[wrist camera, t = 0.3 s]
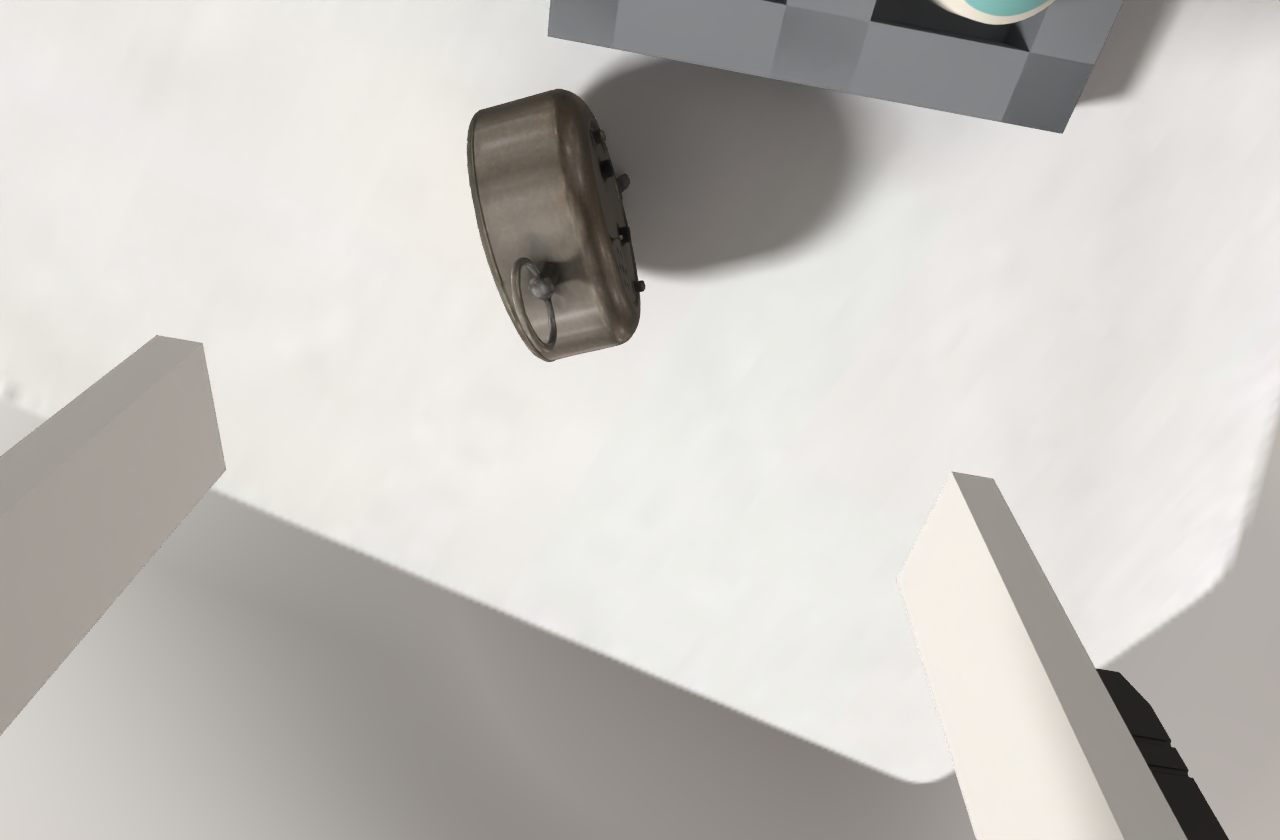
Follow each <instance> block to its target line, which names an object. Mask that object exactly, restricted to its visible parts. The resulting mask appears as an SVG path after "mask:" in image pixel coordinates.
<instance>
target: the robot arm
mask: <svg viewBox="0 0 1280 840" xmlns="http://www.w3.org/2000/svg"><path fill="white" fill-rule="evenodd" d="M225 470H226V467H225V461H224V456H223V450H222V445H221V440H220V434H219V429H218V424H217V418H216V413H215V408H214V402H213V397H212V391H211V386H210V381H209V375H208V370H207V365H206V359H205V354H204V349H203V343H199V342H193V341H187V340H181V339H175V338H170V337H164V336H158V335H156V336H155V337H154V338H153V339H151V340H150V341H149V342H147V343H146V344H145V345H143V346H142V347H141V348H140V349H138V350H137V351H136V352H134V353H133V354H132V355H131V356H129V357H128V358H127V359H125V360H124V361H123V362H122V363H120V364H119V365H118V366H116V367H115V368H114V369H113V370H111V371H110V372H109V373H107V374H106V375H105V376H104V377H102V378H101V379H100V380H98V381H97V382H96V383H94V384H93V385H92V386H91V387H89V388H88V389H87V390H85V391H84V392H83V393H82V394H80V395H79V396H78V397H76V398H75V399H74V400H73V401H71V402H70V403H69V404H67V405H66V406H65V407H64V408H62V409H61V410H60V411H58V412H57V413H56V414H55V415H53V416H52V417H51V418H49V419H48V420H47V421H46V422H44V423H43V424H42V425H40V426H39V427H38V428H36V429H35V430H34V431H33V432H31V433H30V434H29V435H27V436H26V437H25V438H24V439H22V440H21V441H20V442H18V443H17V444H16V445H15V446H13V447H12V448H11V449H9V450H8V451H7V452H6V453H4V454H3V455H2V456H0V736H1V734H2V733H3V732H4V731H5V730H6V728H7V727H8V726H9V725H10V724H11V723H12V721H13V720H14V719H15V718H16V717H17V715H18V714H19V713H20V712H21V711H22V710H23V708H24V707H25V706H26V705H27V704H28V702H29V701H30V700H31V699H32V698H33V697H34V695H35V694H36V693H37V692H38V691H39V690H40V688H41V687H42V686H43V685H44V684H45V682H46V681H47V680H48V679H49V678H50V677H51V675H52V674H53V673H54V672H55V671H56V670H57V668H58V667H59V666H60V665H61V664H62V662H63V661H64V660H65V659H66V658H67V657H68V655H69V654H70V653H71V652H72V651H73V649H74V648H75V647H76V646H77V645H78V644H79V642H80V641H81V640H82V639H83V638H84V637H85V635H86V634H87V633H88V632H89V631H90V629H91V628H92V627H93V626H94V625H95V624H96V622H97V621H98V620H99V619H100V618H101V616H102V615H103V614H104V613H105V612H106V610H107V609H108V608H109V607H110V606H111V605H112V604H113V602H114V601H115V600H116V599H117V598H118V596H119V595H120V594H121V593H122V592H123V591H124V589H125V588H126V587H127V586H128V585H129V583H130V582H131V581H132V580H133V579H134V577H135V576H136V575H137V574H138V573H139V572H140V571H141V569H142V568H143V567H144V566H145V565H146V563H147V562H148V561H149V560H150V559H151V558H152V556H153V555H154V554H155V553H156V552H157V550H158V549H159V548H160V547H161V546H162V544H163V543H164V542H165V541H166V540H167V539H168V538H169V536H170V535H171V534H172V533H173V532H174V530H175V529H176V528H177V527H178V526H179V525H180V523H181V522H182V521H183V520H184V519H185V517H186V516H187V515H188V514H189V513H190V512H191V510H192V509H193V508H194V507H195V506H196V504H197V503H198V502H199V501H200V500H201V499H202V497H203V496H204V495H205V494H206V493H207V492H208V490H209V489H210V488H211V487H212V486H213V484H214V483H215V482H216V481H217V480H218V479H219V477H220V476H221V475H222V474H223V473H224V471H225ZM896 581H897V584H898V587H899V590H900V594H901V597H902V600H903V603H904V607H905V610H906V613H907V616H908V620H909V623H910V626H911V629H912V633H913V636H914V639H915V642H916V645H917V649H918V652H919V655H920V658H921V662H922V665H923V668H924V671H925V675H926V678H927V681H928V684H929V688H930V691H931V694H932V697H933V701H934V704H935V707H936V710H937V714H938V717H939V720H940V723H941V727H942V730H943V733H944V736H945V739H946V743H947V746H948V749H949V752H950V756H951V759H952V762H953V765H954V769H955V772H956V775H957V778H958V782H959V785H960V788H961V791H962V795H963V798H964V801H965V804H966V808H967V811H968V814H969V817H970V820H971V823H972V827H973V830H974V833H975V837H976V840H1229V839H1228V837H1227V836H1226V834H1225V832H1224V830H1223V829H1222V827H1221V825H1220V824H1219V822H1218V820H1217V818H1216V817H1215V815H1214V813H1213V812H1212V810H1211V808H1210V806H1209V805H1208V803H1207V801H1206V800H1205V798H1204V796H1203V794H1202V793H1201V791H1200V789H1199V788H1198V786H1197V784H1196V782H1195V781H1194V779H1193V778H1190V777H1189V776H1188V769H1187V767H1186V765H1185V763H1184V762H1183V760H1182V758H1181V757H1180V755H1179V753H1178V752H1177V750H1176V748H1172V747H1171V745H1170V743H1171V740H1170V738H1169V736H1168V735H1167V733H1166V731H1165V729H1164V727H1163V726H1162V724H1161V722H1160V721H1159V719H1158V717H1157V715H1156V714H1155V712H1154V710H1153V709H1152V707H1151V705H1150V704H1149V703H1148V702H1147V701H1146V700H1145V699H1144V698H1143V697H1142V696H1141V695H1140V694H1139V693H1138V692H1137V691H1136V690H1135V688H1134V687H1133V686H1132V685H1130V683H1129V682H1128V681H1127V680H1126V679H1125V678H1124V677H1123V676H1122V675H1121V674H1120V673H1119V672H1114V671H1108V670H1102V669H1096V668H1095V667H1094V665H1093V663H1092V661H1091V659H1090V658H1089V656H1088V654H1087V652H1086V650H1085V648H1084V646H1083V645H1082V643H1081V641H1080V639H1079V637H1078V635H1077V633H1076V632H1075V630H1074V628H1073V626H1072V624H1071V622H1070V620H1069V619H1068V617H1067V615H1066V613H1065V611H1064V609H1063V607H1062V605H1061V604H1060V602H1059V600H1058V598H1057V596H1056V594H1055V592H1054V591H1053V589H1052V587H1051V585H1050V583H1049V581H1048V579H1047V578H1046V576H1045V574H1044V572H1043V570H1042V568H1041V566H1040V565H1039V563H1038V561H1037V559H1036V557H1035V555H1034V553H1033V552H1032V550H1031V548H1030V546H1029V544H1028V542H1027V540H1026V539H1025V537H1024V535H1023V533H1022V531H1021V529H1020V527H1019V526H1018V524H1017V522H1016V520H1015V518H1014V516H1013V514H1012V513H1011V511H1010V509H1009V507H1008V505H1007V503H1006V501H1005V500H1004V498H1003V496H1002V494H1001V492H1000V490H999V488H998V487H997V485H996V483H995V481H994V479H992V478H986V477H980V476H974V475H969V474H963V473H957V472H951V474H950V476H949V478H948V480H947V482H946V484H945V485H944V487H943V489H942V491H941V493H940V495H939V497H938V499H937V501H936V503H935V505H934V507H933V509H932V511H931V513H930V515H929V517H928V519H927V521H926V523H925V525H924V527H923V528H922V530H921V532H920V534H919V536H918V538H917V540H916V542H915V544H914V546H913V548H912V550H911V552H910V554H909V556H908V558H907V560H906V562H905V564H904V566H903V568H902V569H901V571H900V573H899V575H898V577H897V579H896Z"/></svg>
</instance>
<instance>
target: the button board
mask: <svg viewBox="0 0 1280 840" xmlns="http://www.w3.org/2000/svg"><path fill="white" fill-rule="evenodd" d="M1123 2H1124V0H1055V1H1054V2H1053V3H1052V4H1050V5H1049V6H1048V7H1046V8H1045V9H1043V10H1042V11H1040V12H1038V13H1037V14H1035V15H1033V16H1031V17H1029V18H1027V19H1024V20H1021V21H1018V22H1015V23H1009V24H1000V25H993V24H985V23H982V22H978V21H975V20H972V19H969V18H966V17H963V16H960V15H957V14H954V13H951V12H948V11H945V10H943V9H941V8H939V7H937V6H936V5H934V4H933V3H931V2H930V1H929V0H551V1H550V13H549V25H548V36H549V37H554V38H559V39H565V40H570V41H575V42H581V43H586V44H591V45H596V46H602V47H607V48H612V49H618V50H623V51H628V52H633V53H639V54H644V55H649V56H655V57H660V58H665V59H670V60H676V61H681V62H686V63H692V64H697V65H702V66H707V67H713V68H718V69H723V70H729V71H734V72H739V73H744V74H750V75H755V76H760V77H766V78H771V79H776V80H781V81H787V82H792V83H797V84H803V85H808V86H813V87H818V88H824V89H829V90H834V91H840V92H845V93H850V94H855V95H861V96H866V97H871V98H877V99H882V100H887V101H892V102H898V103H903V104H908V105H914V106H919V107H924V108H929V109H935V110H940V111H945V112H951V113H956V114H961V115H966V116H972V117H977V118H982V119H988V120H993V121H998V122H1003V123H1009V124H1014V125H1019V126H1025V127H1030V128H1035V129H1040V130H1046V131H1051V132H1056V133H1062V134H1063V132H1064V130H1065V127H1066V125H1067V123H1068V121H1069V119H1070V117H1071V114H1072V112H1073V110H1074V108H1075V106H1076V104H1077V101H1078V99H1079V97H1080V95H1081V93H1082V91H1083V88H1084V86H1085V84H1086V82H1087V80H1088V78H1089V75H1090V73H1091V71H1092V69H1093V67H1094V65H1095V62H1096V60H1097V58H1098V56H1099V54H1100V51H1101V49H1102V47H1103V45H1104V43H1105V41H1106V38H1107V36H1108V34H1109V32H1110V30H1111V28H1112V25H1113V23H1114V21H1115V19H1116V17H1117V15H1118V12H1119V10H1120V8H1121V6H1122V4H1123Z"/></svg>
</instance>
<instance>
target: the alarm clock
mask: <svg viewBox="0 0 1280 840" xmlns="http://www.w3.org/2000/svg"><path fill="white" fill-rule="evenodd" d="M605 140H606V136H605V134H604V132H603V131H602V130H600V128H599V126H598V124H597V122H596V119H595V117H594V115H593V114H592V112H591V111H590V109H589V108H588V106H587V105H586V104H585V103H584V101H583V100H582V99H581V98H579V97H578V96H577V95H575V94H574V93H572V92H570V91H567V90H563V89H555V90H551V91H547V92H543V93H540V94H536V95H533V96H529V97H525V98H522V99H518V100H515V101H511V102H508V103H504V104H501V105H497V106H493V107H489V108H486V109H482V110H479V111H478V112H477V113H476V114H475V115H474V116H473V118H472V120H471V123H470V126H469V130H468V138H467V141H468V143H467V159H468V164H467V166H468V173H469V182H470V187H471V193H472V199H473V204H474V208H475V213H476V219H477V224H478V229H479V233H480V237H481V241H482V245H483V248H484V251H485V254H486V258H487V262H488V264H489V267H490V270H491V273H492V275H493V278H494V281H495V284H496V286H497V289H498V291H499V294H500V296H501V299H502V301H503V303H504V306H505V308H506V310H507V313H508V314H509V316H510V318H511V320H512V322H513V324H514V326H515V328H516V330H517V332H518V334H519V335H520V337H521V338H522V340H523V341H524V343H525V344H526V346H527V347H528V349H529V350H530V351H531V352H532V353H533V354H534V355H535V356H537V357H538V358H540V359H542V360H544V361H547V362H552V361H555V360H557V359H561V358H565V357H569V356H573V355H577V354H582V353H586V352H591V351H596V350H600V349H604V348H609V347H613V346H617V345H621V344H623V343H625V342H627V341H628V340H629V339H630V338H631V337H632V335H633V334H634V332H635V330H636V328H637V326H638V323H639V318H640V292H642V291H644V289H645V283H644V281H638V276H637V269H636V264H635V258H634V253H633V248H632V243H631V236H630V229H629V227H628V224H627V220H626V216H625V212H624V208H623V203H622V194H621V193H622V192H623V191H624V190H625V189H626V188H627V187H628V185H629V183H630V179H629V177H628V175H627V174H623V175H622V176H620V177H619V178H617V179H616V177H615V174H614V170H613V167H612V163H611V160H610V157H609V154H608V150H607V147H606V145H605V142H604V141H605Z"/></svg>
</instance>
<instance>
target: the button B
mask: <svg viewBox="0 0 1280 840" xmlns="http://www.w3.org/2000/svg"><path fill="white" fill-rule="evenodd" d="M929 1H930V2H931V3H933V4H934V5H936V6H937V7H939V8H941V9H943V10H945V11H948V12H951V13H954V14H957V15H960V16H963V17H966V18H969V19H972V20H975V21H978V22H982V23H985V24H993V25H1000V24H1009V23H1015V22H1018V21H1021V20H1024V19H1027V18H1029V17H1031V16H1033V15H1035V14H1037V13H1038V12H1040V11H1042V10H1043V9H1045V8H1046V7H1048V6H1049V5H1050V4H1052V3H1053V2H1054V1H1055V0H929Z"/></svg>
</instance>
